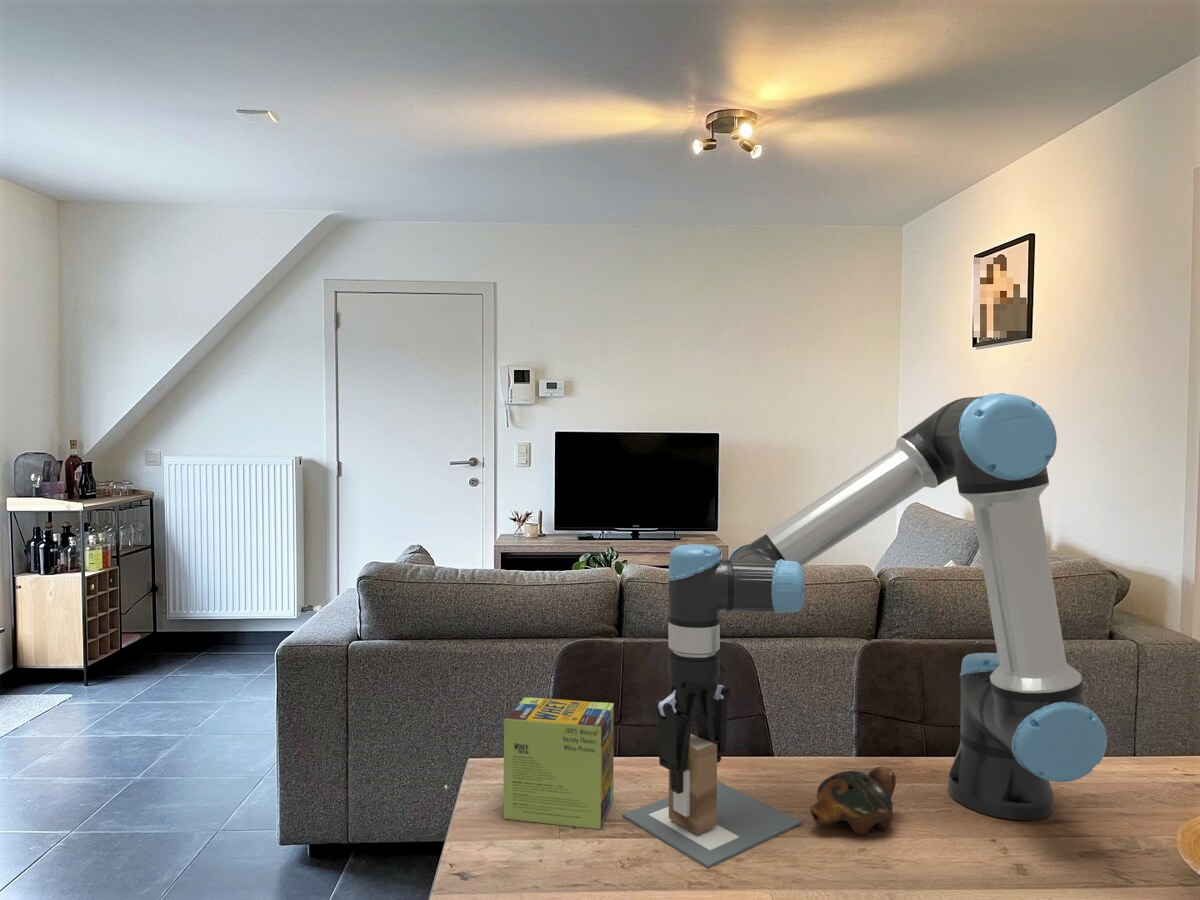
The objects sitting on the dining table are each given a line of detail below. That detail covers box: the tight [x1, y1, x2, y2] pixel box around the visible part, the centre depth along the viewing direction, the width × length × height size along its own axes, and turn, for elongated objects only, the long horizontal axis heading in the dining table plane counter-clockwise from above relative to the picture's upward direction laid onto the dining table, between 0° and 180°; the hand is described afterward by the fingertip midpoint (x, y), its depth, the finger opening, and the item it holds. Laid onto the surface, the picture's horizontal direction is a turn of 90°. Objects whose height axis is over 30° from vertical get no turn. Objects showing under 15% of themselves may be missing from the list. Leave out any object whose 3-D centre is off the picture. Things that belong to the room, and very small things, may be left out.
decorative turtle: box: [809, 766, 897, 837], centre depth 118 cm, size 10×15×8 cm, turn 119°
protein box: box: [502, 697, 615, 830], centre depth 123 cm, size 10×15×16 cm
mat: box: [622, 780, 803, 869], centre depth 119 cm, size 18×20×1 cm
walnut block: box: [668, 733, 718, 834], centre depth 117 cm, size 6×4×12 cm, turn 38°
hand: (693, 807), depth 117 cm, fingers closed on walnut block, 4 cm apart
